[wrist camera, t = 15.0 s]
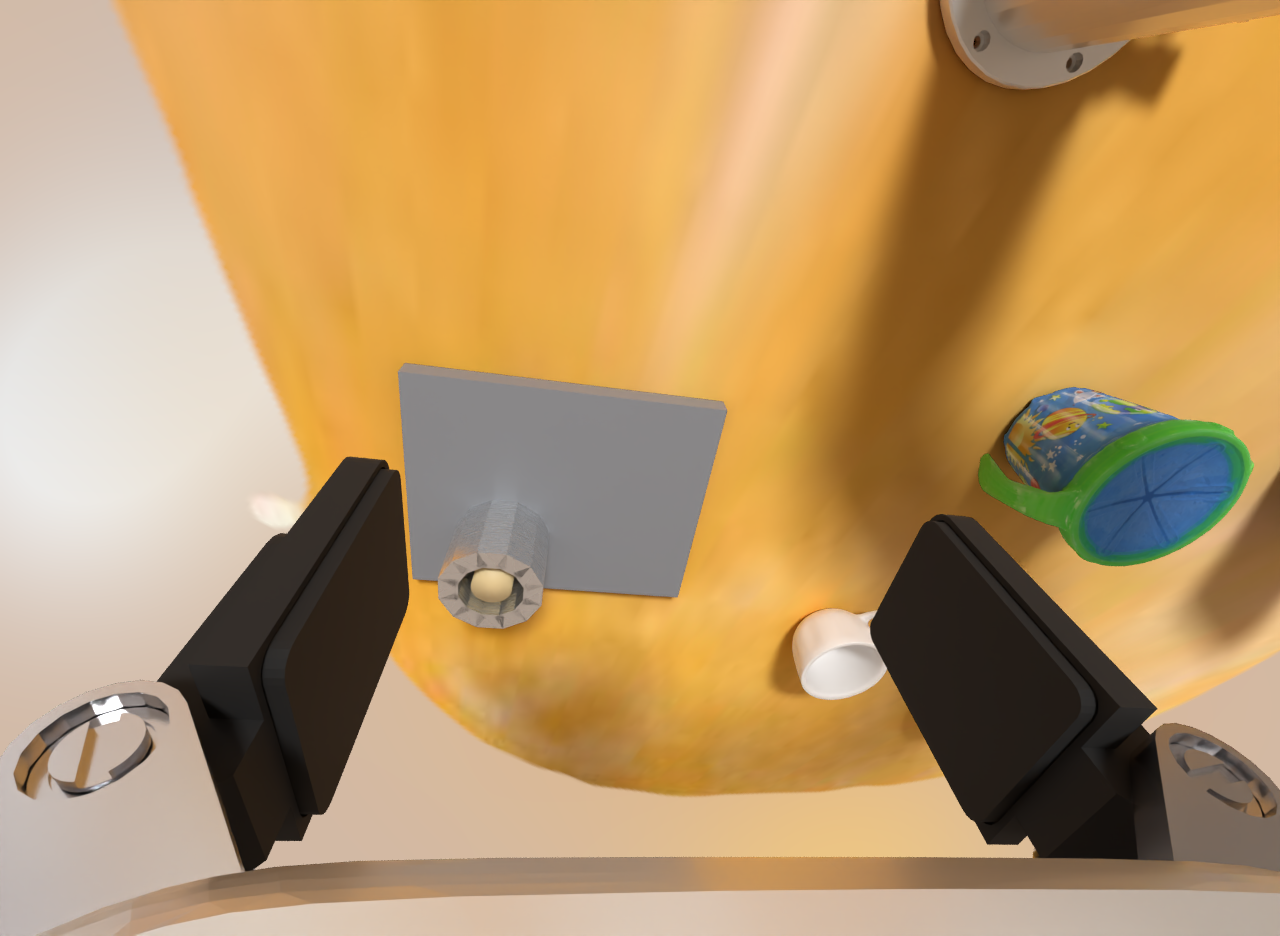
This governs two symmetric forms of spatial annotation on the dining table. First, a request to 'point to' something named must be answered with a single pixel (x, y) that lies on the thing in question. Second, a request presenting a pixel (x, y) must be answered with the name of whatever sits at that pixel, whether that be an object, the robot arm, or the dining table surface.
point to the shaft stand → (559, 474)
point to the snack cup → (1118, 475)
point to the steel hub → (495, 563)
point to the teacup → (836, 654)
